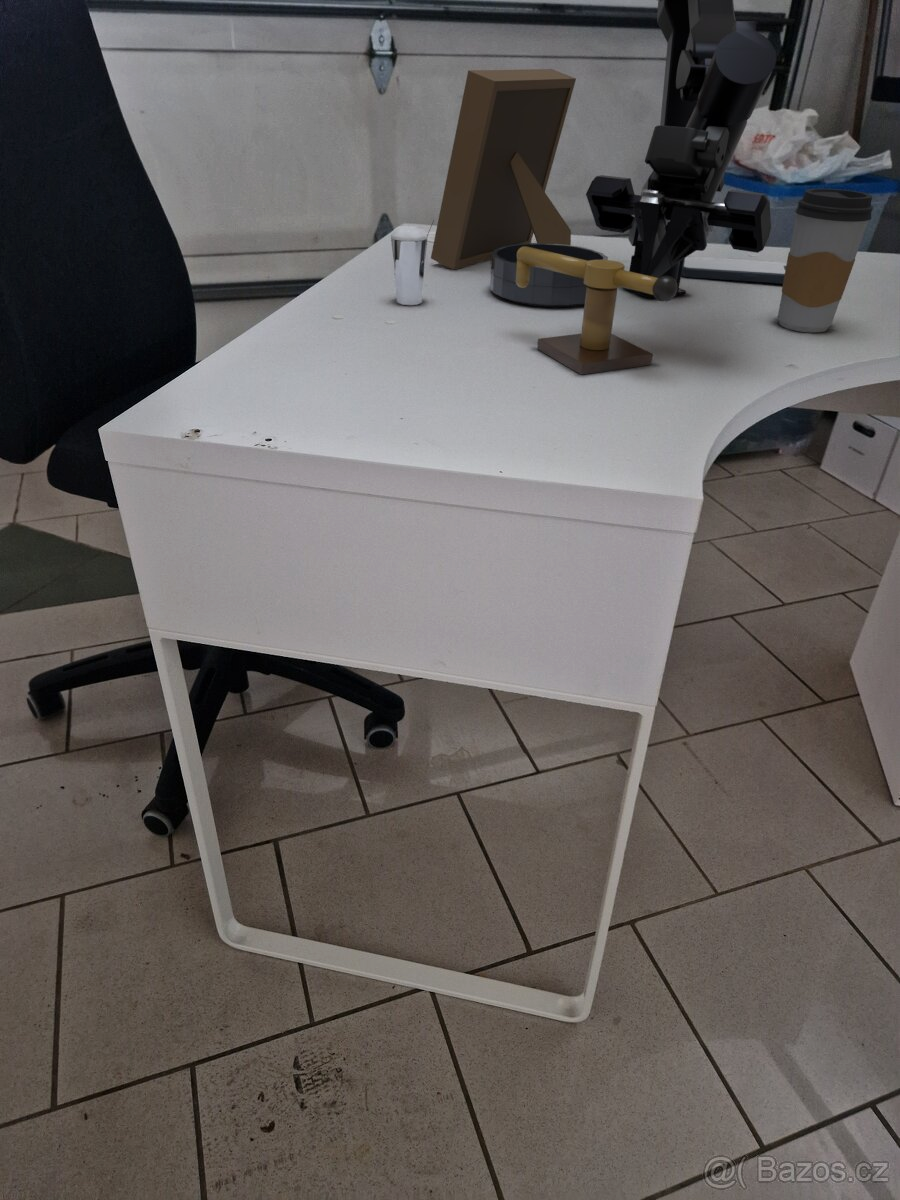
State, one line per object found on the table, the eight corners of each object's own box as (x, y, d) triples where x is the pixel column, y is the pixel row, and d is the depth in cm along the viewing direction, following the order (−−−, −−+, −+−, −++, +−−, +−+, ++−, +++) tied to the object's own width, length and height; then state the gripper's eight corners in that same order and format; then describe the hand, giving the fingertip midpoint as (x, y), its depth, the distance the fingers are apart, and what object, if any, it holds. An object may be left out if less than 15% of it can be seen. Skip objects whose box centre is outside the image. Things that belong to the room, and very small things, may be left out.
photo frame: (430, 265, 125) (433, 68, 110) (508, 243, 139) (519, 67, 125) (513, 282, 118) (528, 74, 104) (586, 257, 132) (607, 72, 118)
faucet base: (604, 340, 96) (613, 273, 92) (651, 364, 89) (663, 293, 85) (537, 349, 93) (543, 280, 88) (581, 374, 86) (589, 301, 82)
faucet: (679, 323, 84) (688, 275, 81) (657, 330, 82) (665, 281, 79) (527, 283, 96) (531, 240, 93) (504, 288, 94) (507, 244, 91)
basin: (563, 276, 121) (567, 240, 118) (624, 303, 110) (630, 263, 107) (471, 285, 115) (472, 247, 113) (525, 313, 104) (528, 272, 101)
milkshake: (428, 308, 105) (429, 223, 99) (387, 305, 106) (386, 220, 100) (436, 299, 109) (437, 216, 103) (396, 296, 109) (396, 214, 104)
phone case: (678, 279, 123) (791, 286, 120) (680, 267, 122) (794, 275, 119) (680, 266, 130) (787, 273, 127) (682, 255, 129) (789, 262, 126)
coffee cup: (837, 321, 106) (874, 191, 97) (840, 339, 99) (880, 201, 91) (769, 313, 108) (800, 185, 99) (767, 330, 101) (800, 195, 93)
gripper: (606, 85, 84) (543, 218, 82) (792, 97, 75) (726, 245, 74) (626, 166, 94) (570, 286, 92) (794, 184, 85) (735, 316, 84)
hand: (644, 282), depth 85 cm, fingers closed
